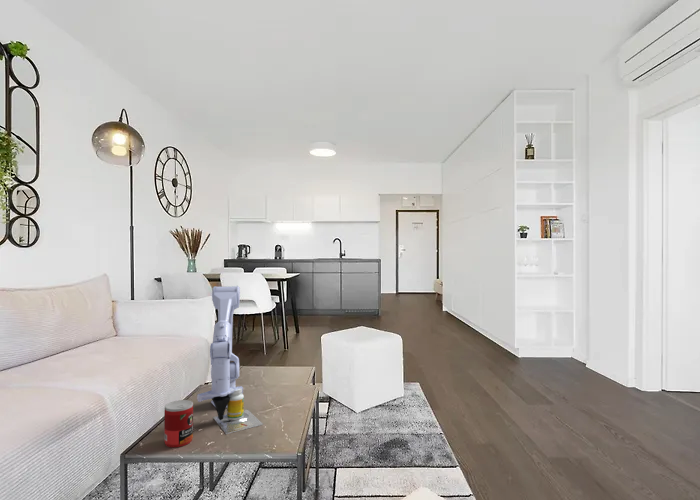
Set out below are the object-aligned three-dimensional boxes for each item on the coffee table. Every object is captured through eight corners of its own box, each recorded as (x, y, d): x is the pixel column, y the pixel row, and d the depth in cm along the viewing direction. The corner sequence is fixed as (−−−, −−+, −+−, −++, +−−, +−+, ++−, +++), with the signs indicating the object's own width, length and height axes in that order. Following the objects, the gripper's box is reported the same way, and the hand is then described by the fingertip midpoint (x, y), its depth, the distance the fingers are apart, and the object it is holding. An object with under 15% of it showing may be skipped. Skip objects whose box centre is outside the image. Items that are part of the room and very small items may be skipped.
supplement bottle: (225, 415, 131) (226, 387, 132) (242, 413, 134) (242, 385, 134) (228, 421, 127) (228, 392, 127) (244, 418, 129) (245, 389, 129)
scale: (213, 417, 131) (213, 416, 131) (247, 410, 138) (247, 408, 138) (226, 434, 118) (225, 432, 119) (263, 424, 125) (263, 423, 125)
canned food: (183, 449, 109) (183, 410, 110) (158, 447, 111) (158, 408, 111) (198, 436, 117) (198, 400, 117) (174, 435, 118) (174, 399, 119)
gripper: (200, 384, 120) (200, 428, 120) (246, 376, 129) (246, 417, 128) (195, 379, 126) (195, 420, 126) (239, 371, 134) (239, 410, 134)
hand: (220, 418), depth 127 cm, fingers closed
